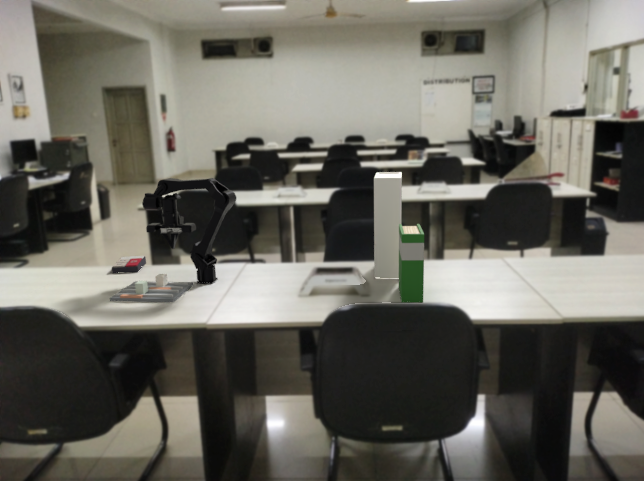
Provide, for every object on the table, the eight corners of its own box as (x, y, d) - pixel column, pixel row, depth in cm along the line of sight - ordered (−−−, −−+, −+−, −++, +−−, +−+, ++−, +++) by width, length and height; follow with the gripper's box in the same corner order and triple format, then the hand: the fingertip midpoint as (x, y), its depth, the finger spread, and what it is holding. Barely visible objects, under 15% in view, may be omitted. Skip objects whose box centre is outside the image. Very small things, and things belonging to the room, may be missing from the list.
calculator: (111, 266, 226) (120, 255, 241) (112, 275, 228) (121, 264, 242) (137, 264, 227) (145, 254, 242) (138, 274, 228) (146, 263, 243)
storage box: (400, 279, 207) (401, 177, 198) (374, 279, 209) (373, 177, 200) (401, 265, 228) (401, 172, 219) (376, 264, 229) (376, 172, 220)
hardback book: (398, 286, 199) (398, 224, 194) (418, 286, 198) (419, 223, 193) (401, 302, 182) (401, 234, 177) (423, 302, 181) (424, 234, 176)
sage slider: (148, 291, 196) (147, 280, 195) (143, 294, 193) (142, 283, 192) (140, 291, 197) (139, 280, 196) (136, 294, 193) (134, 283, 192)
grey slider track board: (193, 285, 208) (193, 280, 207) (173, 302, 188) (172, 296, 188) (135, 284, 211) (135, 279, 210) (109, 301, 192) (109, 295, 191)
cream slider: (167, 283, 204) (166, 273, 204) (163, 286, 201) (162, 276, 200) (160, 283, 205) (159, 273, 204) (156, 286, 201) (155, 276, 201)
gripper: (199, 206, 216) (202, 244, 220) (156, 207, 218) (159, 243, 222) (189, 211, 205) (192, 250, 209) (143, 211, 208) (147, 250, 211)
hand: (173, 248), depth 213 cm, fingers closed
